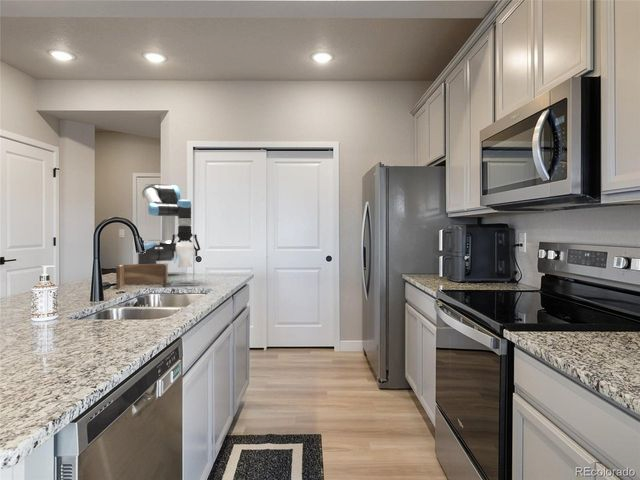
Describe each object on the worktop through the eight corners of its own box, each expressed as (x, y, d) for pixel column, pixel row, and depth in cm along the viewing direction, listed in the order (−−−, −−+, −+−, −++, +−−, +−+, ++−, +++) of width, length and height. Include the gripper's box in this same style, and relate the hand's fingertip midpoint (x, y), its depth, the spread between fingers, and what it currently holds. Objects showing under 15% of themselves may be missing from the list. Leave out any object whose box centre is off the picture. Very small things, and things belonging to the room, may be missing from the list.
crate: (121, 284, 224) (121, 263, 223) (167, 282, 232) (167, 262, 232) (116, 288, 208) (116, 266, 207) (166, 286, 216) (166, 264, 216)
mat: (172, 283, 231) (172, 282, 231) (197, 282, 236) (197, 281, 236) (171, 286, 217) (171, 285, 217) (198, 285, 222) (198, 284, 222)
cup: (190, 267, 220) (190, 242, 220) (172, 267, 221) (172, 242, 220) (196, 266, 231) (196, 241, 231) (179, 266, 231) (179, 241, 231)
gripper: (163, 225, 218) (163, 263, 219) (204, 225, 226) (205, 262, 226) (164, 225, 225) (164, 262, 226) (204, 225, 233) (204, 261, 233)
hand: (184, 262), depth 226 cm, fingers closed on cup, 10 cm apart
